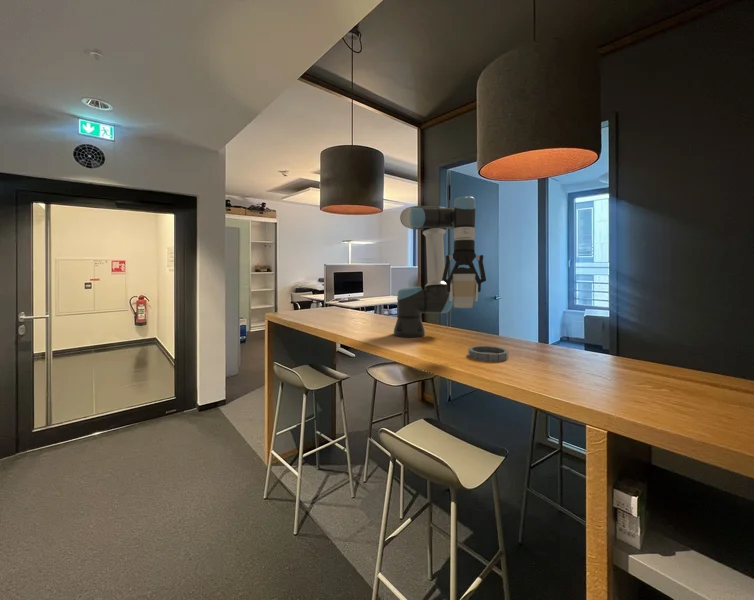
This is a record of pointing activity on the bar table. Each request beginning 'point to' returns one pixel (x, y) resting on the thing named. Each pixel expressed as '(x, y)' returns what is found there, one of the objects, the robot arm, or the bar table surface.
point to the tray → (488, 353)
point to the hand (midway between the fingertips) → (463, 300)
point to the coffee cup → (463, 287)
